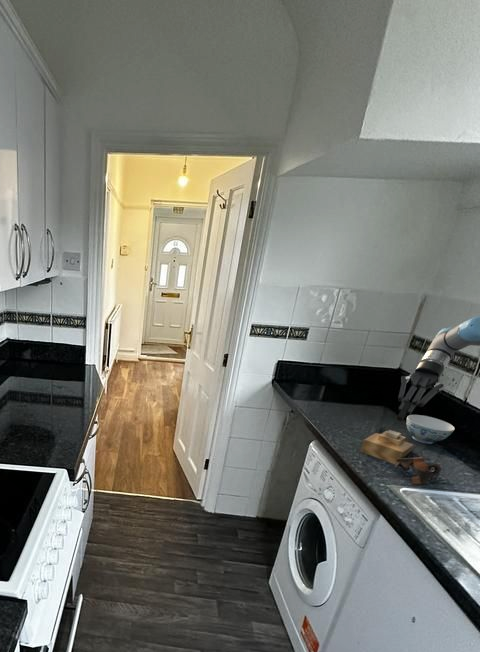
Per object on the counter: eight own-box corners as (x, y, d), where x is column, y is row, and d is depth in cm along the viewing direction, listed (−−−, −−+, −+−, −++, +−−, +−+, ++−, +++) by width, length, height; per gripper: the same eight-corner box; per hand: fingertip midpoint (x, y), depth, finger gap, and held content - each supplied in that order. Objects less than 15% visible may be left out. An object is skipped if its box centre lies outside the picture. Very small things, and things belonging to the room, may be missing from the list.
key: (399, 437, 146) (401, 433, 146) (396, 440, 144) (397, 435, 143) (388, 434, 149) (389, 429, 148) (384, 436, 147) (386, 432, 146)
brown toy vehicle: (402, 485, 129) (399, 458, 130) (390, 483, 138) (387, 458, 139) (448, 483, 126) (445, 456, 126) (433, 481, 135) (429, 456, 135)
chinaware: (398, 429, 171) (405, 411, 168) (442, 439, 165) (451, 421, 162) (401, 441, 160) (409, 423, 156) (449, 453, 153) (458, 434, 150)
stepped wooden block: (408, 457, 147) (415, 439, 144) (397, 465, 140) (405, 447, 138) (371, 445, 155) (377, 428, 153) (359, 452, 149) (365, 434, 146)
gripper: (453, 377, 145) (421, 430, 142) (410, 368, 154) (379, 418, 151) (455, 364, 140) (422, 419, 137) (410, 356, 149) (378, 407, 146)
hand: (399, 418), depth 144 cm, fingers closed
